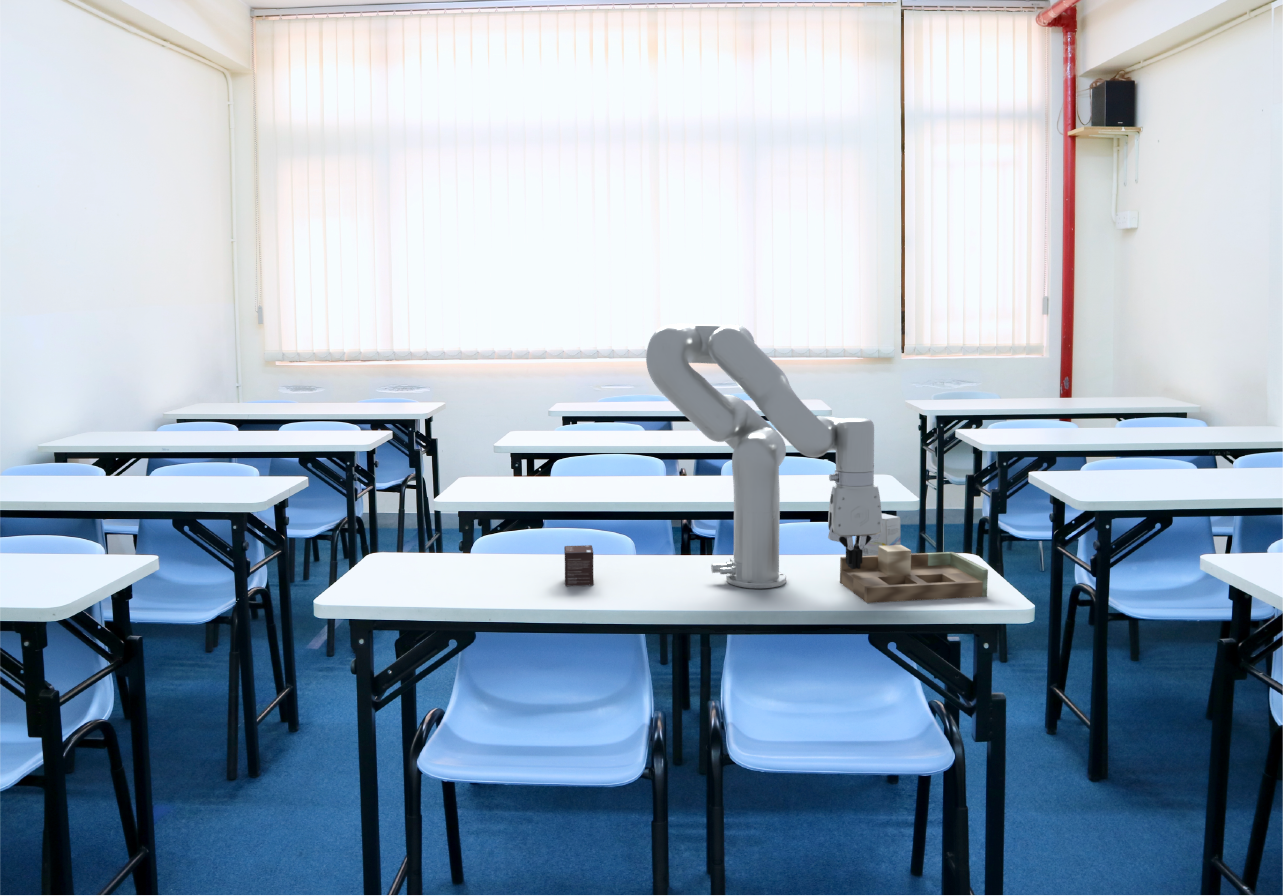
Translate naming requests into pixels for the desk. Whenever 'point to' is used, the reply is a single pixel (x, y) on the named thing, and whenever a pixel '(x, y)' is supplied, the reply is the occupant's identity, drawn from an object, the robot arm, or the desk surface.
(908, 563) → the beech block
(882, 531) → the ink box
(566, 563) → the box
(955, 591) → the tray
